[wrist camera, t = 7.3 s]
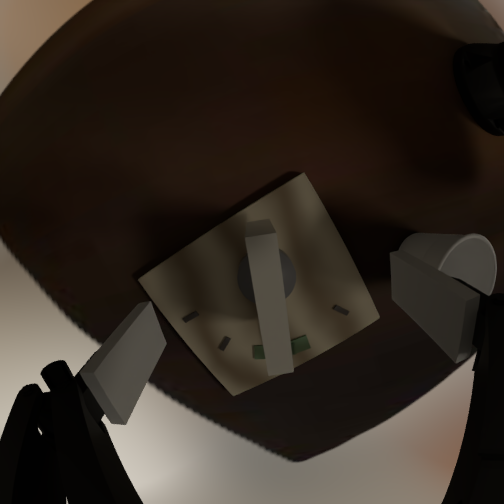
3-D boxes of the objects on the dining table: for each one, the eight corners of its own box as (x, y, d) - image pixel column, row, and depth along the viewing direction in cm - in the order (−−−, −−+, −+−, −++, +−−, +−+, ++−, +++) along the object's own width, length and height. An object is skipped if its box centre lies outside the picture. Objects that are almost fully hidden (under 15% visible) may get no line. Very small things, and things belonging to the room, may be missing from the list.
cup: (385, 301, 33) (428, 344, 22) (377, 226, 31) (429, 247, 20) (443, 280, 32) (492, 311, 22) (440, 210, 30) (497, 224, 19)
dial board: (302, 173, 29) (304, 172, 28) (376, 313, 33) (380, 318, 32) (141, 276, 32) (137, 280, 31) (233, 390, 36) (233, 397, 35)
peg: (228, 222, 29) (217, 241, 20) (286, 213, 29) (303, 228, 19) (252, 348, 33) (252, 405, 23) (301, 341, 33) (317, 395, 23)
